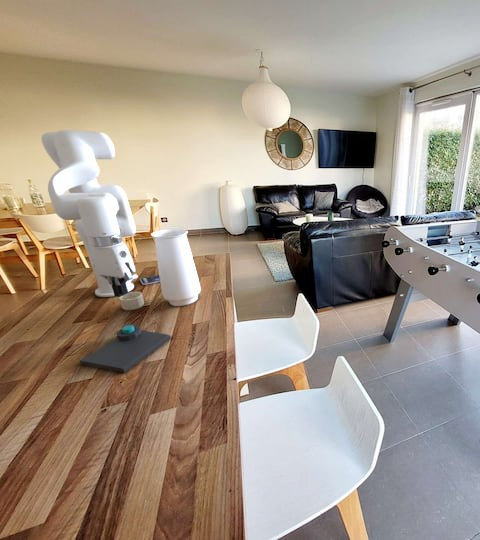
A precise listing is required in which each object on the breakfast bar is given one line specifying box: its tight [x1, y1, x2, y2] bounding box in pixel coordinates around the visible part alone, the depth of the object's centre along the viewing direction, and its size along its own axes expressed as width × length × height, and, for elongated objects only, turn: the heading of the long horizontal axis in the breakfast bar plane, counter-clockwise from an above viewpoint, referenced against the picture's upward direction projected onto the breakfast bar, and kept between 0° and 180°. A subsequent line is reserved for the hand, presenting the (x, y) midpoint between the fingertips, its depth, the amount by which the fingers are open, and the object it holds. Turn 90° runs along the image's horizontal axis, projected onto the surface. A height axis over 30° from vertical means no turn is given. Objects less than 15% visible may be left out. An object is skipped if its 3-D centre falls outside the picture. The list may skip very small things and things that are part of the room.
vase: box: [150, 228, 201, 307], centre depth 110 cm, size 13×13×28 cm
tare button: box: [121, 324, 135, 334], centre depth 90 cm, size 3×3×2 cm
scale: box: [79, 324, 171, 373], centre depth 85 cm, size 16×14×3 cm
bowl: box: [118, 291, 145, 311], centre depth 108 cm, size 7×7×4 cm
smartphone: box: [139, 274, 160, 286], centre depth 132 cm, size 8×1×15 cm
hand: (121, 294), depth 91 cm, fingers closed
